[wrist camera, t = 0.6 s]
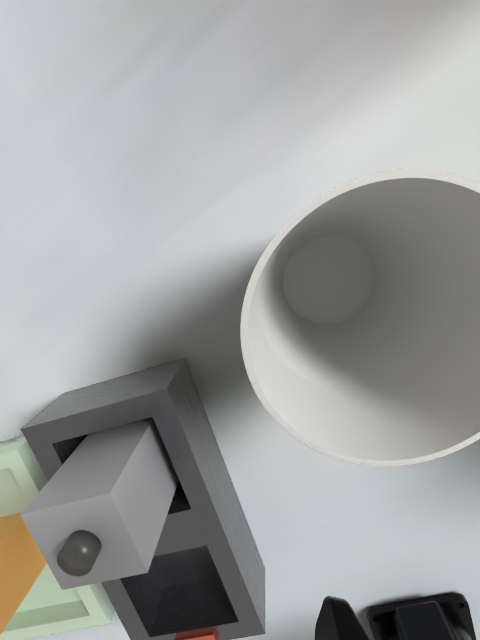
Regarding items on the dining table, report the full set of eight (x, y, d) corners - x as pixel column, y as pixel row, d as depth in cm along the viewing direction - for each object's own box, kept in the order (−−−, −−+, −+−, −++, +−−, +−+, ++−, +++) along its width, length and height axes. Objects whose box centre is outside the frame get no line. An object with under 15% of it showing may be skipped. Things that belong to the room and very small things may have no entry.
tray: (119, 596, 26) (109, 623, 24) (2, 620, 27) (-16, 646, 25) (35, 432, 23) (16, 449, 21) (-93, 468, 24) (-121, 486, 22)
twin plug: (184, 462, 21) (141, 592, 14) (124, 477, 22) (51, 609, 14) (160, 405, 20) (100, 509, 13) (98, 422, 21) (6, 531, 13)
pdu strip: (264, 568, 24) (265, 639, 20) (157, 589, 25) (137, 660, 21) (184, 358, 21) (164, 391, 16) (63, 393, 22) (16, 432, 18)
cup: (255, 353, 20) (248, 468, 11) (247, 205, 18) (230, 181, 9) (401, 348, 20) (534, 464, 10) (410, 194, 18) (586, 154, 8)
